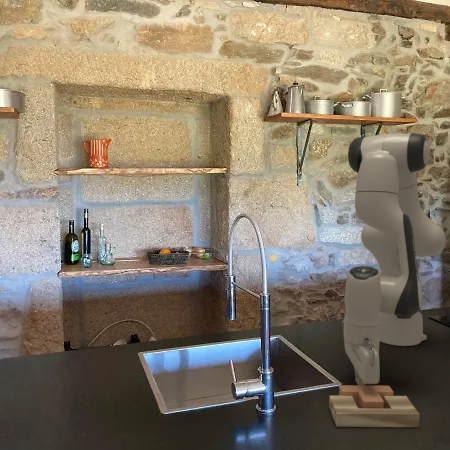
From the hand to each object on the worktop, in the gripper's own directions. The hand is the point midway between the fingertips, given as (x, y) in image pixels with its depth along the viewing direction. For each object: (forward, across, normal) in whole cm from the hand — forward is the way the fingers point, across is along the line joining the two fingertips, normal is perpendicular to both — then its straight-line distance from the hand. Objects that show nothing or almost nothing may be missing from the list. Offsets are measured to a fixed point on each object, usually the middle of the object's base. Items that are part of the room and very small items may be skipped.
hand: (360, 384), depth 126 cm
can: (+2, +18, -7) cm, 20 cm away
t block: (+2, -9, +1) cm, 10 cm away
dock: (+2, -13, +1) cm, 13 cm away
